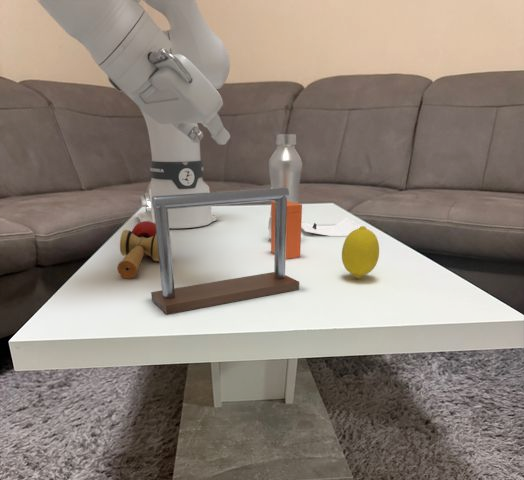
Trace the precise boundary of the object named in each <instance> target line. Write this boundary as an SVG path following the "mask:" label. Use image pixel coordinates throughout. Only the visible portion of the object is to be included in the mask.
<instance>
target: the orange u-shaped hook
mask: <svg viewBox="0 0 524 480" xmlns="http://www.w3.org/2000/svg"><path fill="white" fill-rule="evenodd" d="M270 213H271V236H270V254H273V255H275V202H272V209H271V208H270ZM302 217H303V204H302V203H299V202H298V203H294V202H289V201H287V218H286V260H289V259H290V260H291V259H296V258H300V257H301V246H302V245H301V244H302V243H301V242H302V227H301V222H302Z"/></svg>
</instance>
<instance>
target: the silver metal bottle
mask: <svg viewBox="0 0 524 480" xmlns="http://www.w3.org/2000/svg"><path fill="white" fill-rule="evenodd" d="M275 138H276V140H275V145H276V148H275V150H274V152H273V153H272V155H271V156H270V158H269V161H268V164H267V165H268V174H269V182H270V188H283V187H286V188H288V190H289V197H288V199H287V201H289V202H294V203H298V204H299V196H300V195H299V193H300V183H301V177H302V170H303V161H302V158H301V156H300V154H299V153H298V151H297V150H296V145H297V134H296V133H276V137H275ZM272 202H275V201H270V210H271V209H272ZM269 213H270V216H269V220H268V227H267V230H268V235H269V236H270V237H271V212H269Z"/></svg>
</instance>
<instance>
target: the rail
mask: <svg viewBox="0 0 524 480" xmlns="http://www.w3.org/2000/svg"><path fill="white" fill-rule="evenodd" d="M288 197H289V190H288V188H286V187H283V188H271V187H270V188H254V189H253V188H252V189H240V190H225V191H212V192H211V191H210V192H209V193H194V194H179V195H165V196H153V197H152V206H153V209H154V214H155V224H156V234H157V244H158V254H159V261H158V263H159V271H160V281H161V282H160V283H161V290H155V291H151V292H150V296H151V301H152V302H153V303H154V304H155V305H156V306H157V307H158V308H159V309H160V310H161V311H162V312H163V313H164V314H165V315H171V314H177V313H181V312H186V311H187V312H188V311H192V310H197V309H201V308H202V309H203V308H209V307H214V306H219V305H225V304H230V303H236V302H240V301H245V300H250V299H255V298H261V297H267V296H271V295H277V294H282V293H283V294H284V293H288V292H293V291H299V290H300V281H299V280H297V279H295V278H292V277H290V276H289V275H286V261H287V259H286V218H287V199H288ZM271 201H275V254H274V262H273V263H274V266H273V267H274V269H273V270H274V271H272V272H266V273H259V274H254V275H248V276H247V275H246V276H241V277H236V278H235V277H234V278H229V279H223V280H216V281H211V282H205V283H197V284H191V285H186V286H180V287H175V277H174V267H173V254H172V243H171V232H170V231H171V230H170V228H169V219H168V209H178V208H190V207H203V206H211V207H213V206H225V205H237V204H249V203H250V204H251V203H263V202H271Z"/></svg>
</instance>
